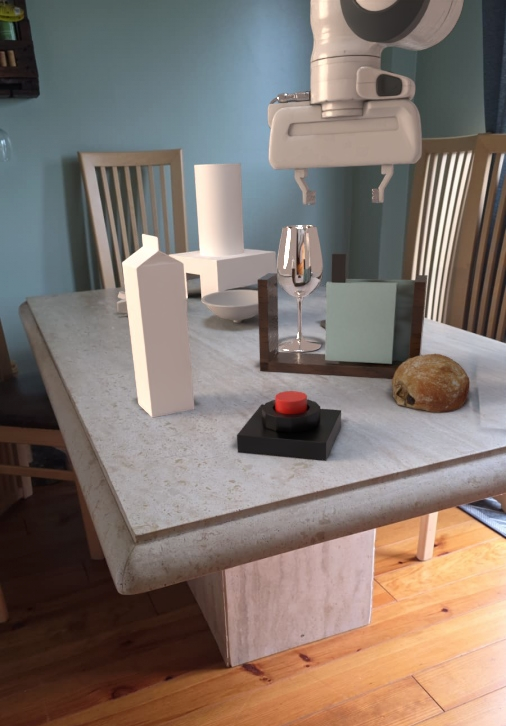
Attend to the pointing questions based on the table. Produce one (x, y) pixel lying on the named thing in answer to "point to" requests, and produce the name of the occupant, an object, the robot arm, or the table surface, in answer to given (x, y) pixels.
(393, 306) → the window
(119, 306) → the bunny figurine
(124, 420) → the table surface
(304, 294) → the wineglass
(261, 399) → the table surface
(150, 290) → the milk
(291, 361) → the window frame
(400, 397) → the bread roll
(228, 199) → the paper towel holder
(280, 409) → the button
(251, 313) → the dish
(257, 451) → the button box
